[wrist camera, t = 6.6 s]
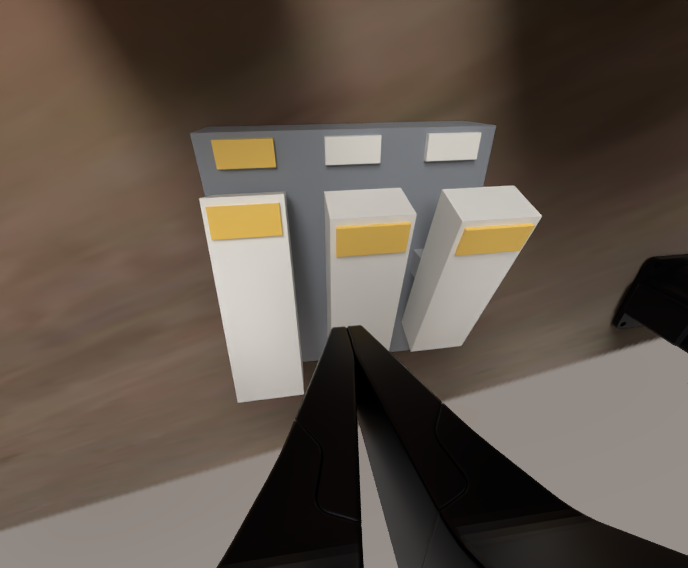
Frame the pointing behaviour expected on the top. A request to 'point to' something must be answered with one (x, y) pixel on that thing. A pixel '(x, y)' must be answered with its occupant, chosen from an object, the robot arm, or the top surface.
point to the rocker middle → (366, 257)
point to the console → (342, 187)
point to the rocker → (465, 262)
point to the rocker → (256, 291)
